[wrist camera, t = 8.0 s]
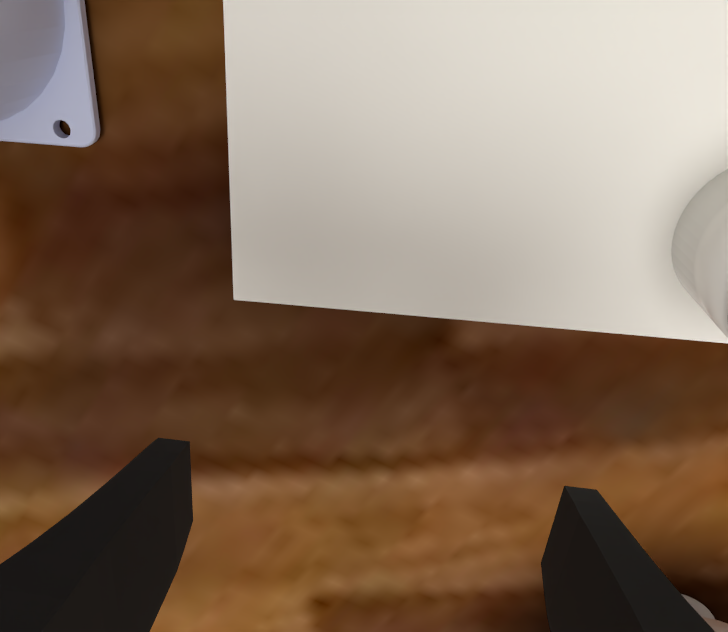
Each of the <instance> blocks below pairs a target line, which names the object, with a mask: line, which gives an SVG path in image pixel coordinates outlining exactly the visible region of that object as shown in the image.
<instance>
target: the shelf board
mask: <svg viewBox="0 0 728 632" xmlns="http://www.w3.org/2000/svg"><path fill="white" fill-rule="evenodd" d="M223 8H224V37H225V66H226V95H227V124H228V153H229V182H230V211H231V240H232V269H233V297H234V300H242V301H253V302H264V303H276V304H287V305H299V306H310V307H321V308H333V309H344V310H355V311H367V312H378V313H389V314H401V315H412V316H424V317H435V318H446V319H458V320H469V321H480V322H492V323H503V324H514V325H526V326H537V327H549V328H560V329H571V330H583V331H594V332H605V333H617V334H628V335H640V336H651V337H662V338H674V339H685V340H696V341H708V342H719V343H728V338H727V337H726V336H725V335H724V333H723V332H722V331H721V330H720V329H719V328H718V327H717V325H716V324H715V323H714V322H713V321H712V320H711V319H710V317H709V316H708V315H707V314H706V313H705V312H704V311H703V309H702V308H701V307H700V306H699V305H698V304H697V302H696V301H695V300H694V299H693V298H692V297H691V296H690V294H689V293H688V292H687V291H686V290H685V289H684V288H683V286H682V285H681V283H680V282H679V280H678V278H677V276H676V274H675V271H674V268H673V263H672V255H671V248H672V239H673V235H674V231H675V228H676V225H677V223H678V220H679V218H680V216H681V214H682V212H683V211H684V209H685V208H686V206H687V205H688V203H689V202H690V200H691V199H692V198H693V197H694V196H695V195H696V193H697V192H698V191H699V190H700V189H701V188H702V187H703V186H704V185H706V184H707V183H708V182H709V181H710V180H712V179H713V178H714V177H716V176H717V175H719V174H720V173H722V172H724V171H725V170H727V169H728V0H223Z"/></svg>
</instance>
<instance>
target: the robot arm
mask: <svg viewBox="0 0 728 632" xmlns="http://www.w3.org/2000/svg"><path fill="white" fill-rule="evenodd" d="M61 120H62V121H65V122H66V123H67V124H68V125H69V127H70V129H71V132H70V135H66V134H64V133H63V132H62V131H61V129H60V126H59V125H60V121H61ZM99 136H100V123H99V115H98V107H97V99H96V91H95V82H94V74H93V66H92V58H91V50H90V42H89V34H88V26H87V17H86V9H85V1H84V0H0V141H9V142H22V143H34V144H47V145H59V146H72V147H88V146H90V145H92V144H93V143H95V142H96V141H97V140H98V138H99ZM192 522H193V510H192V487H191V464H190V442H189V441H180V440H172V439H163V438H158V439H156V440H155V441H154V442H152V443H151V444H150V445H149V446H148V447H147V448H145V449H144V450H143V451H142V452H141V453H140V454H139V455H138V456H136V457H135V458H134V459H133V460H132V461H131V462H130V463H129V464H127V465H126V466H125V467H124V468H123V469H122V470H121V471H120V472H118V473H117V474H116V475H115V476H114V477H113V478H112V479H110V480H109V481H108V482H107V483H106V484H105V485H103V486H102V487H101V488H100V489H99V490H97V491H96V492H95V493H94V494H93V495H91V496H90V497H89V498H88V499H87V500H85V501H84V502H83V503H82V504H81V505H79V506H78V507H77V508H76V509H75V510H73V511H72V512H71V513H70V514H68V515H67V516H66V517H64V518H63V519H62V520H60V521H59V522H58V523H56V524H55V525H54V526H53V527H51V528H50V529H49V530H47V531H46V532H45V533H43V534H42V535H41V536H39V537H38V538H37V539H35V540H34V541H33V542H31V543H30V544H29V545H27V546H26V547H24V548H23V549H22V550H20V551H19V552H17V553H16V554H14V555H13V556H12V557H10V558H9V559H7V560H6V561H4V562H3V563H1V564H0V632H149V631H150V629H151V627H152V625H153V623H154V621H155V618H156V616H157V614H158V612H159V610H160V607H161V605H162V603H163V601H164V599H165V596H166V594H167V592H168V590H169V588H170V585H171V583H172V581H173V579H174V576H175V574H176V572H177V569H178V566H179V563H180V560H181V557H182V554H183V551H184V548H185V545H186V542H187V538H188V535H189V532H190V529H191V525H192ZM541 567H542V576H543V586H544V595H545V603H546V611H547V618H548V622H549V627H550V631H551V632H715V631H714V630H713V629H712V628H711V626H710V625H709V624H708V623H707V622H706V621H705V620H704V619H703V618H702V617H701V616H700V615H699V613H698V612H697V611H696V610H695V609H694V608H693V607H692V606H691V605H690V604H689V603H688V602H687V600H686V599H685V598H684V597H683V596H682V595H681V594H680V592H679V591H678V590H677V589H676V588H675V587H674V586H673V584H672V583H671V582H670V581H669V580H668V579H667V577H666V576H665V575H664V574H663V573H662V571H661V570H660V569H659V568H658V567H657V565H656V564H655V563H654V562H653V561H652V559H651V558H650V557H649V556H648V554H647V553H646V552H645V551H644V549H643V548H642V547H641V546H640V544H639V543H638V542H637V541H636V539H635V538H634V537H633V536H632V534H631V533H630V532H629V530H628V529H627V528H626V527H625V525H624V524H623V523H622V522H621V520H620V519H619V518H618V516H617V515H616V514H615V513H614V511H613V510H612V509H611V507H610V506H609V505H608V504H607V502H606V501H605V500H604V498H603V497H602V496H601V495H600V493H599V492H598V491H597V490H594V489H586V488H577V487H569V486H564V489H563V492H562V495H561V499H560V502H559V505H558V509H557V512H556V515H555V519H554V522H553V525H552V528H551V532H550V535H549V538H548V542H547V545H546V548H545V552H544V555H543V558H542V562H541Z"/></svg>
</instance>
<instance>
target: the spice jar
mask: <svg viewBox="0 0 728 632" xmlns="http://www.w3.org/2000/svg"><path fill="white" fill-rule="evenodd" d="M671 255H672V263H673V268H674V271H675V274H676V276H677V278H678V280H679V282H680V283H681V285H682V286H683V288H684V289H685V290H686V291H687V292H688V293H689V294H690V296H691V297H692V298H693V299H694V300H695V301H696V302H697V304H698V305H699V306H700V307H701V308H702V309H703V311H704V312H705V313H706V314H707V315H708V316H709V317H710V319H711V320H712V321H713V322H714V323H715V324H716V325H717V327H718V328H719V329H720V330H721V331H722V332H723V333H724V335H725V336H726V337H727V338H728V169H727V170H725V171H724V172H722V173H720V174H719V175H717V176H716V177H714V178H713V179H712V180H710V181H709V182H708V183H707V184H706V185H704V186H703V187H702V188H701V189H700V190H699V191H698V192H697V193H696V195H695V196H694V197H693V198H692V199H691V200H690V202H689V203H688V205H687V206H686V208H685V209H684V211H683V212H682V214H681V216H680V218H679V220H678V223H677V225H676V228H675V231H674V235H673V239H672V248H671Z"/></svg>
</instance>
